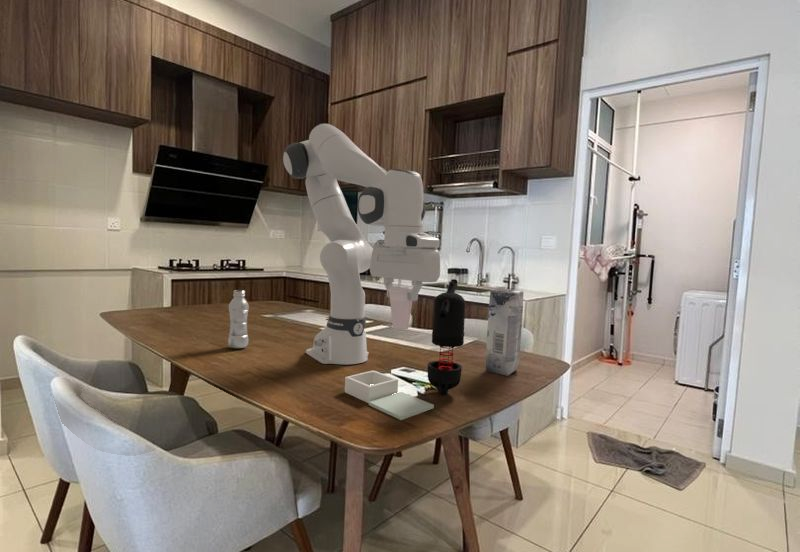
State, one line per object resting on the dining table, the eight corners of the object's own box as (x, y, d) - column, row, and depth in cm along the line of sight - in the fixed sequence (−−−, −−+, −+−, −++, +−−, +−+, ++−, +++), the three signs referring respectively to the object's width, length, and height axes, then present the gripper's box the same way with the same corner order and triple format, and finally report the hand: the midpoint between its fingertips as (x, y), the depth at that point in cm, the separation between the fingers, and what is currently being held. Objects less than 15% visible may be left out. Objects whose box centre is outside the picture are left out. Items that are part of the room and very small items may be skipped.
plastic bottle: (252, 347, 147) (253, 290, 146) (235, 351, 141) (236, 292, 140) (240, 344, 151) (241, 289, 149) (223, 348, 145) (224, 290, 143)
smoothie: (395, 324, 104) (396, 267, 103) (418, 327, 101) (420, 268, 100) (381, 328, 98) (383, 268, 97) (406, 331, 95) (408, 269, 94)
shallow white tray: (344, 392, 109) (345, 376, 108) (372, 384, 115) (373, 370, 115) (368, 403, 102) (369, 387, 101) (397, 394, 108) (398, 379, 108)
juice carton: (520, 370, 136) (526, 286, 134) (509, 378, 127) (516, 288, 125) (494, 364, 141) (499, 284, 138) (482, 371, 132) (487, 286, 130)
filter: (431, 384, 118) (437, 277, 115) (463, 389, 115) (470, 279, 113) (418, 401, 105) (424, 281, 102) (454, 407, 102) (462, 283, 100)
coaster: (368, 405, 101) (368, 401, 101) (401, 394, 108) (401, 391, 108) (401, 420, 93) (401, 416, 93) (433, 408, 101) (433, 404, 101)
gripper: (364, 239, 103) (363, 295, 104) (426, 239, 89) (424, 304, 90) (383, 239, 108) (382, 293, 109) (445, 240, 93) (443, 302, 94)
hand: (401, 298), depth 99 cm, fingers closed on smoothie, 6 cm apart
